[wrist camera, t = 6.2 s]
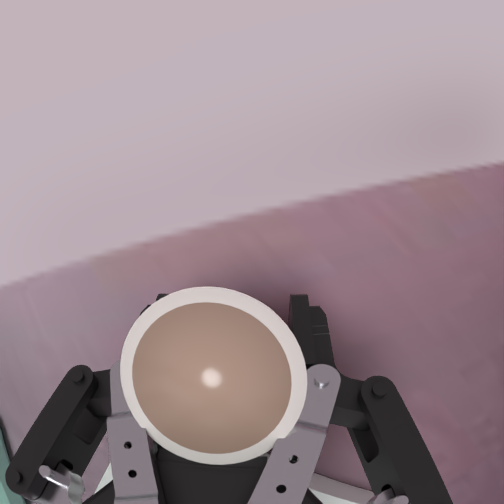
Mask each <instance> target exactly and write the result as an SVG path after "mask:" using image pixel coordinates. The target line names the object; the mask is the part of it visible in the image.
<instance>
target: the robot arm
mask: <svg viewBox="0 0 504 504" xmlns="http://www.w3.org/2000/svg"><path fill="white" fill-rule="evenodd" d="M167 295H169V294H159V295H158V296H157V299H156V301H158V300H159V299H161V298H163V297H165V296H167ZM150 306H151V305H148V306H147V307H146V308H145V309H144V310H143V311H142V312H141V314H142V313H143V312H144V311H145V310H146V309H147V308H148V307H150ZM141 314H140V315H141ZM139 317H140V316H139ZM289 329H290V330H291V332H292V333H293V335H294V336H295V338H296V340H297V342H298V344H299V346H300V348H301V351H302V354H303V357H304V360H305V365H306V371H307V392H306V398H305V402H304V406H303V409H302V412H301V414H300V416H299V419H298V420H297V422H296V424H295V425H294V427H293V429H292V430H291V431H290V432H289V433H288V435H287V436H286V437H285V438H278V439H277V441H276V443H275V446H274V448H273V450H272V452H271V455H270V457H269V459H268V461H267V456H258V457H256V458H253V459H250V460H248V461H244V462H240V463H235V464H225V465H216V464H205V463H199V462H195V461H191V460H188V459H185V458H183V457H180V456H178V455H176V454H174V453H172V452H170V451H168V450H167V449H165V448H164V447H162V446H161V445H159V444H158V443H157V442H155V441H154V440H153V439H152V438H151V437H150V436H149V435H148V434H147V431H146V428H141V426H140V425H139V424H138V422H137V421H136V419H135V418H134V416H133V414H132V413H131V411H130V409H129V407H128V404H127V402H126V399H125V397H124V393H123V389H122V385H121V376H120V362H121V360H119V361H117V362H116V363H115V364H114V365H113V366H112V368H111V369H109V370H103V371H97V372H92V370H91V369H90V368H89V367H88V366H85V365H77V366H75V367H73V368H71V369H70V370H69V371H68V373H67V374H66V376H65V377H64V378H63V380H62V381H61V383H60V384H59V386H58V387H57V389H56V390H55V392H54V393H53V395H52V396H51V398H50V399H49V401H48V402H47V404H46V405H45V407H44V408H43V410H42V411H41V413H40V414H39V416H38V418H37V419H36V421H35V422H34V424H33V425H32V427H31V429H30V430H29V432H28V434H27V435H26V437H25V438H24V440H23V442H22V443H21V445H20V447H19V449H18V450H17V452H16V454H15V455H14V457H13V459H12V461H11V462H10V464H9V466H8V468H7V470H6V473H5V480H6V483H7V486H8V487H9V489H10V490H11V491H12V492H14V493H16V494H18V495H20V496H23V497H24V498H26V499H28V500H30V501H32V502H35V503H36V504H323V503H322V502H321V501H320V500H319V499H318V498H317V497H316V496H315V495H314V494H313V493H312V492H311V491H310V490H309V488H308V486H309V483H310V480H311V478H312V475H313V472H314V470H315V467H316V464H317V461H318V458H319V455H320V453H321V450H322V447H323V444H324V441H325V437H326V434H327V428H328V425H329V423H330V424H335V425H339V426H344V427H347V429H348V431H349V434H350V436H351V439H352V441H353V444H354V446H355V448H356V451H357V453H358V456H359V458H360V461H361V463H362V466H363V468H364V471H365V473H366V476H367V478H368V481H369V483H370V486H371V488H372V491H373V493H374V497H372V498H371V499H370V500H369V501H368V502H367V504H453V502H452V500H451V498H450V496H449V493H448V491H447V489H446V487H445V485H444V482H443V480H442V478H441V476H440V474H439V472H438V469H437V467H436V465H435V463H434V461H433V459H432V457H431V455H430V453H429V451H428V449H427V447H426V445H425V443H424V441H423V439H422V437H421V435H420V433H419V431H418V429H417V427H416V425H415V423H414V421H413V419H412V417H411V415H410V413H409V411H408V409H407V408H406V406H405V404H404V402H403V400H402V398H401V396H400V394H399V393H398V391H397V389H396V387H395V385H394V384H393V382H392V381H391V380H389V379H388V378H386V377H383V376H373V377H370V378H368V379H367V380H366V381H360V380H355V379H351V378H348V377H345V376H344V375H342V374H341V373H340V372H339V371H338V370H337V368H336V366H335V364H334V358H333V352H332V346H331V341H330V335H329V329H328V324H327V318H326V314H325V313H324V312H323V310H322V309H321V308H320V306H310V307H309V301H308V295H290V306H289ZM106 431H107V433H108V444H109V453H110V462H111V469H112V476H113V480H112V481H110V482H109V483H108V484H107V485H105V486H104V487H103V488H101V489H100V490H99V491H98V492H96V493H95V494H94V495H92V496H91V497H90V498H88V499H87V500H86V501H84V502H83V503H82V499H81V496H82V494H83V493H84V492H85V488H84V485H83V481H82V478H81V477H82V475H83V473H84V471H85V469H86V467H87V465H88V464H89V462H90V460H91V458H92V456H93V454H94V453H95V451H96V449H97V447H98V445H99V444H100V442H101V440H102V438H103V436H104V435H105V433H106Z"/></svg>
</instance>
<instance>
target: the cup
mask: <svg viewBox="0 0 504 504" xmlns="http://www.w3.org/2000/svg"><path fill="white" fill-rule="evenodd" d="M120 376H121V385H122V389H123V393H124V397H125V399H126V402H127V404H128V407H129V409H130V411H131V413H132V414H133V416H134V418H135V419H136V421H137V422H138V424H139V425H140V426H141V428H146V431H147V434H148V435H149V436H150V437H151V438H152V439H153V440H154V441H155V442H157V443H158V444H159V445H161V446H162V447H164V448H165V449H167V450H168V451H170V452H172V453H174V454H176V455H178V456H180V457H183V458H185V459H188V460H191V461H195V462H199V463H205V464H216V465H225V464H235V463H240V462H244V461H248V460H250V459H253V458H256V457H258V456H260V455H262V454H264V453H266V452H268V451H269V450H271V449H272V448H274V446H275V443H276V441H277V439H278V438H285V437H286V436H287V435H288V433H289V432H290V431H291V430H292V429H293V427H294V425H295V424H296V422H297V420H298V419H299V416H300V414H301V412H302V409H303V406H304V402H305V398H306V392H307V371H306V365H305V360H304V357H303V354H302V351H301V348H300V346H299V344H298V342H297V340H296V338H295V336H294V335H293V333H292V332H291V330H290V329H289V327H288V326H287V325H286V324H285V323H284V321H283V320H282V319H281V318H280V317H279V316H278V315H277V314H276V313H275V312H274V311H273V310H272V309H270V308H269V307H268V306H267V305H265V304H264V303H262V302H260V301H258V300H256V299H254V298H252V297H250V296H248V295H246V294H243V293H240V292H238V291H235V290H231V289H226V288H221V287H209V286H207V287H193V288H188V289H183V290H180V291H177V292H174V293H171V294H169V295H167V296H165V297H163V298H161V299H159V300H158V301H156V302H155V303H153V304H152V305H151V306H150V307H148V308H147V309H146V310H145V311H144V312H143V313H142V314H141V315H140V317H139V318H138V319H137V320H136V321H135V323H134V325H133V326H132V328H131V329H130V331H129V333H128V336H127V338H126V340H125V343H124V346H123V350H122V355H121V362H120Z"/></svg>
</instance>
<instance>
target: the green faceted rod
mask: <svg viewBox="0 0 504 504" xmlns="http://www.w3.org/2000/svg"><path fill="white" fill-rule="evenodd" d="M9 464H10V460H9V456H8V453H7V450H6V446H5V443H4V439H3V435H2V432H1V428H0V504H26V502H25V500H24V498H23V496H20V495H18V494H16V493H14V492H12V491H11V490H10V489H9V487H8V486H7V483H6V480H5V473H6V470H7V468H8V466H9Z"/></svg>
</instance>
